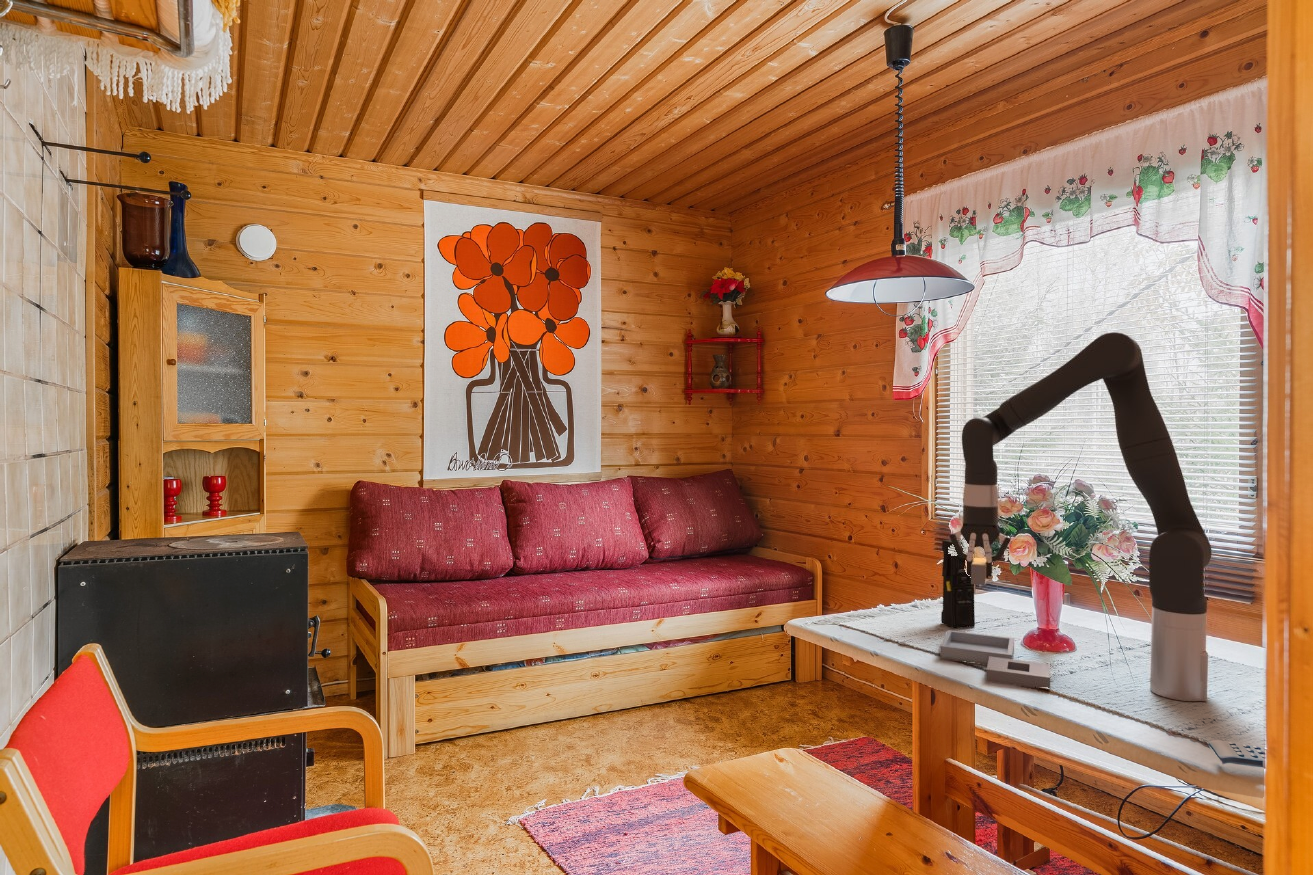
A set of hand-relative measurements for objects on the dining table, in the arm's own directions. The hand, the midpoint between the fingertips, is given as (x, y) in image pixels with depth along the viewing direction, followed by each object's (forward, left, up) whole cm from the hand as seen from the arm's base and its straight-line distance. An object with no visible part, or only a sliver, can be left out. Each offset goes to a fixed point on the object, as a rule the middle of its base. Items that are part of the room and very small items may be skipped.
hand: (979, 577), depth 185 cm
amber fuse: (0, -5, +1) cm, 5 cm away
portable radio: (+7, -25, -18) cm, 32 cm away
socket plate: (-9, +14, -18) cm, 25 cm away
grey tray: (0, 0, -18) cm, 18 cm away
